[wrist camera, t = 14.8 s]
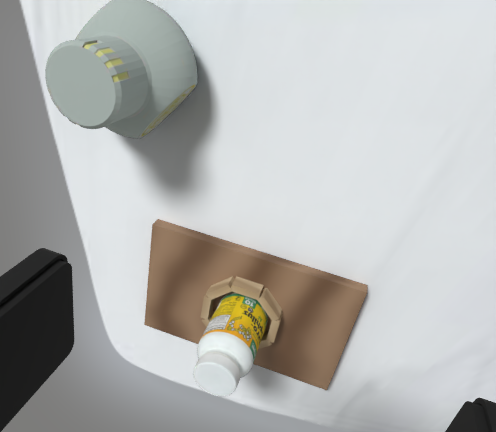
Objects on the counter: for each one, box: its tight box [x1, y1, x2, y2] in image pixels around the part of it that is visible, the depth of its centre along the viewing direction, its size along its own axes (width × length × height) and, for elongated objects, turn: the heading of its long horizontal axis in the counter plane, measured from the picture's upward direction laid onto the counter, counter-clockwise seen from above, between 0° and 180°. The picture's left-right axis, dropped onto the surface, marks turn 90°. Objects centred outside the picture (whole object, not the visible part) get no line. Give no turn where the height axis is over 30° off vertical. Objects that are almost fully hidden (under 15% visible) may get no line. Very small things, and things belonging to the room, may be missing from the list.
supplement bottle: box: [193, 292, 268, 396], centre depth 41 cm, size 5×5×10 cm
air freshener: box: [46, 0, 197, 138], centre depth 33 cm, size 11×8×10 cm
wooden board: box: [145, 219, 367, 390], centre depth 45 cm, size 22×14×3 cm, turn 79°
